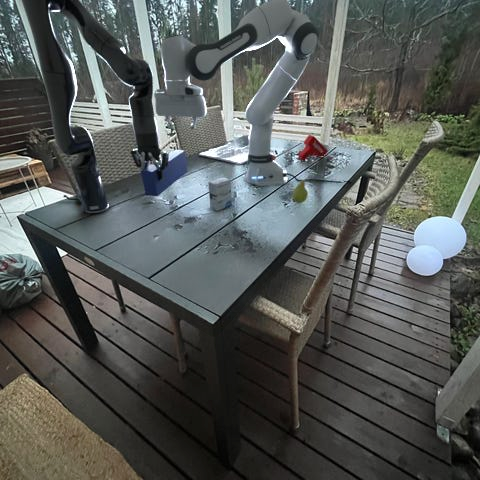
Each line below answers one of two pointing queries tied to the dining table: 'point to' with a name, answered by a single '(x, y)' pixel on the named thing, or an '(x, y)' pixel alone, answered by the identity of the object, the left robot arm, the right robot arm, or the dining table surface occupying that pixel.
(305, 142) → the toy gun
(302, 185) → the fruit
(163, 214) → the dining table surface
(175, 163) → the bar
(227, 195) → the ink box
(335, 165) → the dining table surface
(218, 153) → the relief map
